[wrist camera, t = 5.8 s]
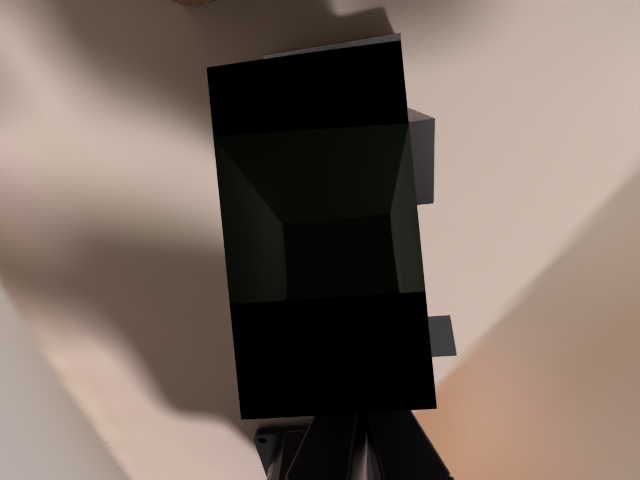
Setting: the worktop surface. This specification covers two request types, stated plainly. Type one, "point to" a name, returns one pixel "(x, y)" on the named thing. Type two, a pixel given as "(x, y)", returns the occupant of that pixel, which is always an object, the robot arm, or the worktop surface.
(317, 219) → the lever
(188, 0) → the ramp
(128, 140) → the worktop surface
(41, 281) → the worktop surface
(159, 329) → the worktop surface
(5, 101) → the worktop surface
